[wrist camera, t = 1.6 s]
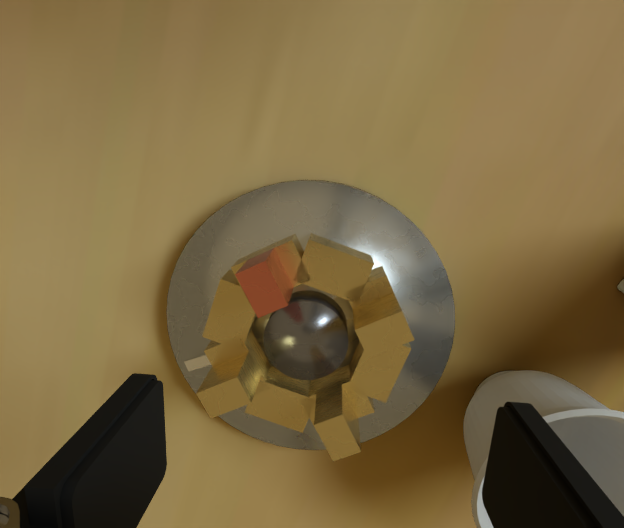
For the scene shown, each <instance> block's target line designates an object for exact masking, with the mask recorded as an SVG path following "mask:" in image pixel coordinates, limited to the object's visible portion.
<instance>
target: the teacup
mask: <svg viewBox="0 0 624 528" xmlns="http://www.w3.org/2000/svg"><path fill="white" fill-rule="evenodd" d="M506 402H520V403H530V404H532V405H533V406H534V408H535V409H536V410H537V411H538V412H539V414H540V415H541V416H542V417H543V419H544V420H545V421H546V422H547V423H548V425H549V426H550V427H551V428H552V430H553V431H554V432H555V433H556V434H557V436H558V437H559V438H560V439H561V441H562V442H563V443H564V444H565V445H566V447H567V448H568V449H569V450H570V451H571V453H572V454H573V455H574V456H575V458H576V459H577V460H578V461H579V462H580V464H581V465H582V466H583V467H584V469H585V470H586V471H587V472H588V473H589V475H590V476H591V477H592V478H593V480H594V481H595V482H596V483H597V484H598V486H599V487H600V488H601V489H602V491H603V492H604V493H605V494H606V495H607V497H608V498H609V499H610V500H611V502H612V503H613V504H614V505H615V506H616V508H617V509H618V510H619V511H620V512H621V514H622V515H623V516H624V412H620V411H616V410H610V409H608V408H607V407H605V406H604V405H603V404H601V403H600V402H598V401H597V400H595V399H594V398H593V397H591V396H590V395H588V394H587V393H585V392H584V391H583V390H581V389H580V388H578V387H576V386H574V385H573V384H571V383H569V382H568V381H566V380H564V379H562V378H560V377H557V376H555V375H552V374H549V373H546V372H541V371H533V370H522V371H503V372H499V373H496V374H493V375H491V376H489V377H488V378H486V379H485V380H484V381H483V382H482V383H481V384H480V385H479V386H478V388H477V389H476V391H475V394H474V396H473V397H472V399H471V401H470V403H469V405H468V407H467V410H466V413H465V417H464V424H463V430H464V440H465V446H466V450H467V455H468V458H469V462H470V465H471V469H472V473H473V476H474V480H475V483H474V487H473V491H472V500H471V502H472V513H473V517H474V521H475V524H476V526H477V528H493V525H492V523H491V521H490V518H489V516H488V514H487V512H486V509H485V507H484V504H483V500H482V487H483V482H484V477H485V472H486V466H487V461H488V456H489V450H490V445H491V440H492V434H493V429H494V424H495V418H496V413H497V409H498V408H499V407H504V404H505V403H506Z"/></svg>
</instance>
